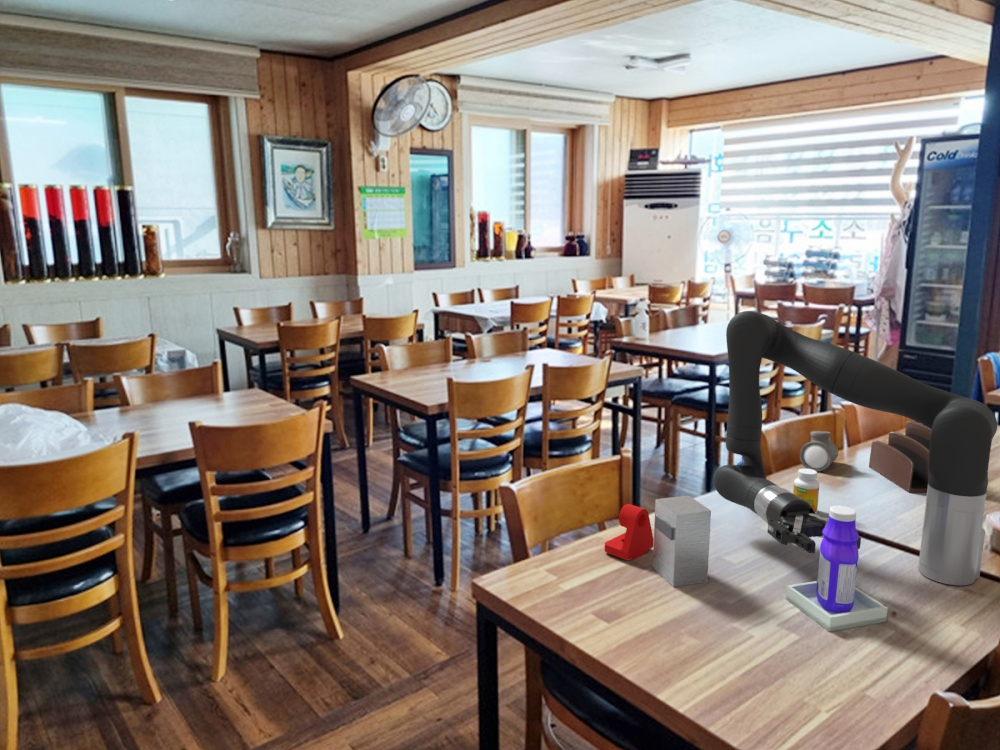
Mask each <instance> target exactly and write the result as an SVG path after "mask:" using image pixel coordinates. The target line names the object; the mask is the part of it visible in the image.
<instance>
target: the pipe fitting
mask: <svg viewBox="0 0 1000 750" xmlns="http://www.w3.org/2000/svg"><path fill="white" fill-rule="evenodd" d="M830 437H831V432H830V431H828V430H827V431H826V430H811V431H810V441H809V442H807V443H805V444H804V445H802V447H801V449H800V452H799V460H800V462H801V464H802V465H803V468H804V469H812V470H815V471H816V472H817V473H818V472H819V473H820V472H822V471H824V470H827V469H828V468H829V467H830V466H831V465H832V463H833V462H834V461H836V460H837V458H838V456H839V449H838V447H837V446H836V445H835V443H833V442H832V439H831V438H830Z"/></svg>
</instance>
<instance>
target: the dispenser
mask: <svg viewBox="0 0 1000 750" xmlns="http://www.w3.org/2000/svg"><path fill="white" fill-rule="evenodd" d="M654 500H655V502H654V503H655V505H654V507H655V508H654V529H653V532H654V533H653V539H654V543H653V555H652V558H653V559H652V568H653V569H654V571H656V572H657V573H658V574H659V575H660V576H661V577H662V578H663V579H664V580H665V581H666V582H668V584H669V585H670V586H672V587H673V588H675V587H682V586H688V585H695V584H702V583H708V579H709V578H708V575H709V574H708V573H709V556H710V539H711V537H710V536H711V520H712V510H711V509H709V508H708V507H707V506H705V505H704V504H702V503H700V502H699V501H698V500H696V499H694V498H693V497H692V496H690V495H689V494H688V495H680V496H672V497H663V498H655V499H654Z"/></svg>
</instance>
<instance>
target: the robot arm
mask: <svg viewBox="0 0 1000 750" xmlns="http://www.w3.org/2000/svg"><path fill="white" fill-rule="evenodd" d="M725 332H726V334H725V336H726V339H725V340H726V347H727V348H726V349H727V350H726V351H727V358H728V359H727V360H728V382H729V384H728V386H729V389H728V392H729V393H728V411H727V421H726V434H725V435H726V437H725V448H726V450H727V451H728V452H730V453H732V454H735V455H739V456H741V458H742V457H743V460H744V465H737V464H726V465H725V464H724V465H721V466H720V467H719V468H718V469H716V471H715V473H714V474H713V475H714V476H713V485H714V488H715V490H716V491H717V493H718V495H719V496H721V497H722V498H723V499H724V500H727V501H729V502H731V503H732V504H733V503H734V504H735V505H739V506H742V507H745V508H747V509H749V510H750V511H752V512H753V513H755V515H757V516H759V518H760V519H762V520H763V521H764V523H766V524H767V534H769V535H770V536H771V537H772V538H773V539H775V540H776V541H777V542H778V543H779V545H780V544H781V545H782V546H787V545H788V544H789V543H790V544H791V545H792V546H794V547H796V546H798V547H799V548H800V549H801V550H803V551H805V552H807V553H808V554H815V552H816V541H815V540H813V539H812V538H816V537H817V538H822V539H823V537H824V535H823V532H822V531H823V529H824V528H825V527H826V525H827V523H828V519H829V517H824V516H823V515H822V516H821V515H819V514H817V513H816V514H815V512H814V510H813V508H812V507H811V505H810V504H809V503H807V502H806V501H804V500H803V499H801V498H799V497H798V496H796V495H795V494H793V492H791V490H788V489H787V488H785V487H781V486H779V485H777V484H776V483H774V482H772V481H771V480H769V479H767V475H766V470H765V465H764V460H763V456H762V455H763V452H762V448H761V446H762V445H761V443H762V430H763V403H762V398H761V390H760V388H761V387H760V375H761V373H760V371H761V363H762V359H764V360H765V359H766V360H768V361H771V362H774V363H777V364H780V365H782V366H784V367H786V368H789V369H791V370H793V371H794V372H796V373H798V375H800V376H802V377H804V379H806V380H808V381H809V382H811V383H812V384H814V385H816V386H817V387H819V388H820V389H822V390H824V391H826V392H828V393H830V394H831V395H833V396H836V397H839V398H840V399H843V400H845V401H847V402H849V403H852V404H855V405H857V406H860V407H864V408H867V409H872V410H876V411H880V412H884V413H890V414H894V415H898V416H901V417H905V418H907V419H909V420H912V421H913V422H917V423H920V424H922V425H924V426H926V427H928V428H930V429H932V430H931V438H930V448H929V459H928V473H929V479H928V488H927V493H926V497H925V507H924V515H923V525H922V531H921V532H922V533H921V540H920V548H919V549H920V550H919V557H918V566H917V568H918V569H917V570H918V571H919V573H920V574H921V575H922V576H924V577H926V578H928V579H930V580H932V581H934V582H937V583H938V582H939V583H942V584H946V585H951V586H969V585H972V584H974V583H975V581H976V580H977V579H980V575H981V567H982V560H983V559H982V558H983V554H984V544H985V540H986V539H985V537H986V531H985V529H984V528H983V523H984V517H985V516H984V515H985V514H984V513H985V508H986V507H985V506H986V500H987V492H988V486H989V473H988V472H989V464H990V457H991V448H992V441H993V438H994V437H995V435H996V434H997V430H998V420H997V417H996V415H995V413H994V412H993V410H991V409H990V408H989V407H988V406H987V405H986V404H984V403H983V402H980V401H978V400H976V399H972V398H970V397H965V396H962V395H960V394H956V393H954V392H953V393H952V392H950V391H947V390H943V389H940V388H937V387H933V386H931V385H929V384H926V383H923V382H921V381H919V380H917V379H915V378H913V377H911V376H909V375H907V374H905V373H902V372H901V371H898V370H897V369H894V368H892V367H890V366H887V365H885V364H883V363H881V362H878V361H876V360H875V359H872V358H870V357H868V356H865V355H862V354H860V353H858V352H855V351H853V350H850V349H847V348H844V347H841V346H839V345H836V344H833V343H829V342H825V341H822V340H819V339H815V338H813V337H812V338H811V337H809V336H807V335H804V334H802V333H800V332H797V331H796V330H794V329H792V328H790V327H788V326H786V325H785V324H783V323H781V322H779V321H778V320H775V319H774V318H772V317H771V316H769V315H768V314H765V313H762V312H757V311H752V310H745V311H741V312H738V313H737V314H735V315H733V316H732V318H731V319H730V320H729V322H728V323H727V327H726V331H725ZM861 543H862V538H861V536H859V540H858V541H857V547H858V550H860V548H861Z"/></svg>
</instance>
